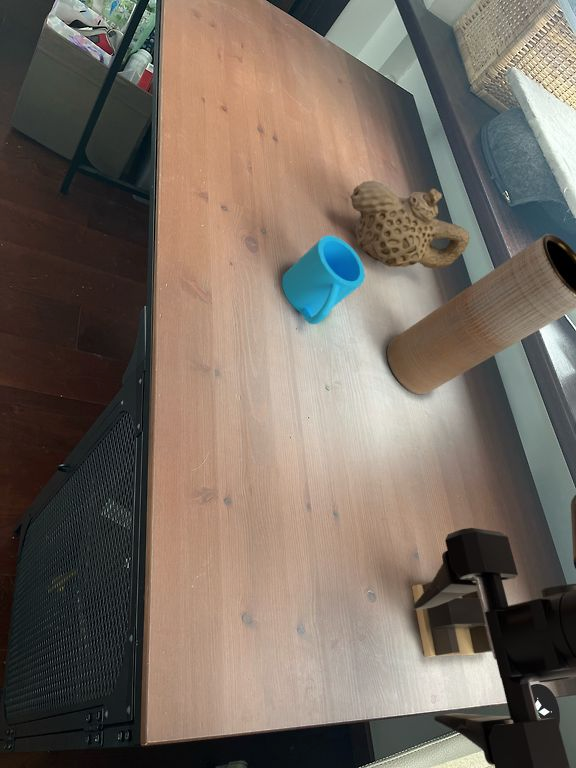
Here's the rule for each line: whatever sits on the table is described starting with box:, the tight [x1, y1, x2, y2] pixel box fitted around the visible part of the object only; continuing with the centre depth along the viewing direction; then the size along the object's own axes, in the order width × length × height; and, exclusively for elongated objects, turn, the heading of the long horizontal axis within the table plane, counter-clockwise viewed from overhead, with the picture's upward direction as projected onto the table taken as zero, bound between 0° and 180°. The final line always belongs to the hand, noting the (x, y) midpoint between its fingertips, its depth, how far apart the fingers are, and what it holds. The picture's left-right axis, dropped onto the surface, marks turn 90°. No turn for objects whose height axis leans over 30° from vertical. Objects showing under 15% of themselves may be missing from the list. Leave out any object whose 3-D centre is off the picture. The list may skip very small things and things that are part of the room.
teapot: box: [349, 180, 470, 269], centre depth 100 cm, size 21×12×15 cm, turn 81°
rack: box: [411, 581, 492, 658], centre depth 75 cm, size 10×8×4 cm
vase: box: [386, 233, 576, 396], centre depth 86 cm, size 10×10×28 cm
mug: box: [281, 235, 366, 325], centre depth 85 cm, size 12×8×8 cm
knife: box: [427, 598, 486, 629], centre depth 73 cm, size 14×3×3 cm, turn 97°
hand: (427, 660), depth 56 cm, fingers open, 9 cm apart
